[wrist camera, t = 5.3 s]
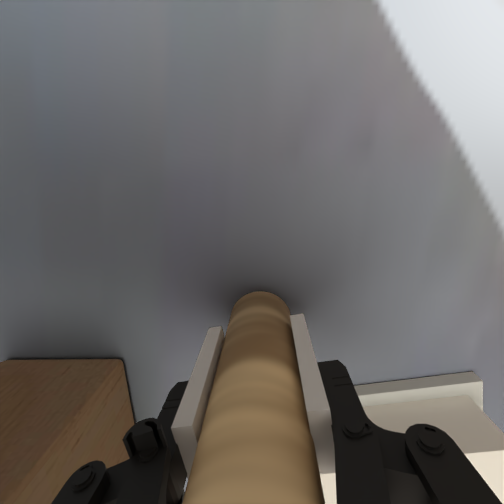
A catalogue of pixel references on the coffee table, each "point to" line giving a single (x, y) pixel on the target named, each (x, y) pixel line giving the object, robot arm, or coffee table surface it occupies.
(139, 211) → the coffee table surface
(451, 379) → the socket
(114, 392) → the wooden block
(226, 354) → the peg
